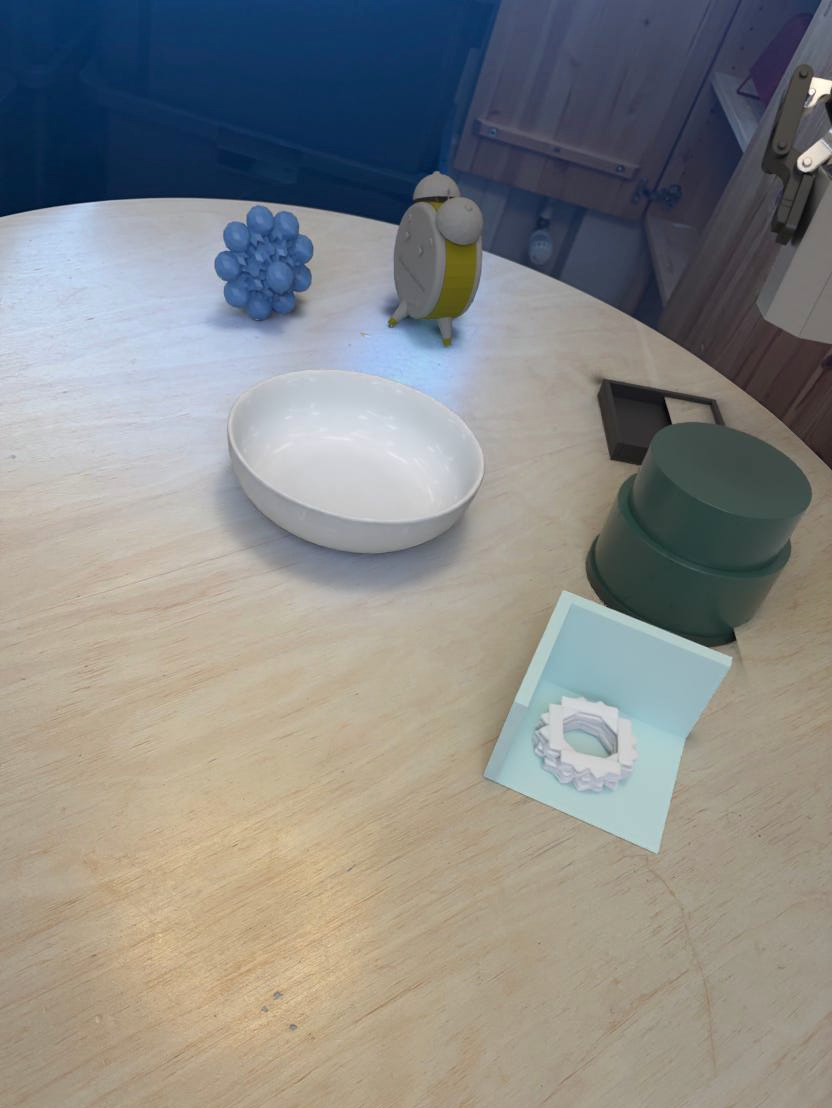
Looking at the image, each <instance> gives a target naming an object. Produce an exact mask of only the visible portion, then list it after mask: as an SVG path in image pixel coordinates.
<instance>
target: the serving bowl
mask: <svg viewBox="0 0 832 1108" xmlns="http://www.w3.org/2000/svg"><path fill="white" fill-rule="evenodd" d="M226 434H227V437H226V438H227V447H228V453H229V458H230V459H229V460H230V463H231V466H232V469H233V472H234V475H235V477H236V479H237V481H238V483H239V485H240V487H241V489H242V490H243V491H244V493H245V495H246V496H247V497H248V499H249V500H250V501H251V502H252V504H253V505H254V506H255V507H256V508H257V509H258V510H259V511H260V512H261V513H262V514H263V515H264V516H265V517H267V518H268V519H269V520H270V521H272V522H273V523H274V524H275V525H277V526H278V527H280V528H282V529H283V530H284V531H286V532H288V533H290V534H292V535H294V536H296V537H297V538H299V539H302V540H305V541H307V542H309V543H312V544H315V545H317V546H321V547H323V548H327V549H332V550H336V551H342V552H347V553H355V554H356V553H357V554H385V553H392V552H398V551H399V552H400V551H403V550H406V549H407V550H408V549H410V548H414V547H417V546H419V545H422V544H425V543H427V542H429V541H431V540H433V539H435V538H436V537H439V536H440V535H441V534H443V533H444V532H446V531H447V530H449V529H450V528H451V527H452V526H453V525H454V524H455V523H456V522H457V521H459V520H460V518H461V517H462V516H463V515H464V514H465V512H466V511H467V510H468V508H469V507H470V505H471V504H472V502H473V500H474V499H475V496H476V495H477V493H478V491H479V490H480V487H481V485H482V482H483V480H484V478H485V472H486V461H485V455H484V450H483V448H482V445H481V444H480V441H479V440H478V438H477V436H476V435H475V433H474V432H473V430H472V429H471V427H470V426H469V425H468V424H467V423H466V422H465V421H464V419H462V418H461V417H460V416H459V415H457V414H456V413H455V412H454V411H453V410H452V409H451V408H450V407H448V406H447V405H445V404H444V403H443V402H441V401H439V400H437V399H436V398H434V397H432V396H431V395H429V394H427V393H425V392H423V391H420V390H419V389H417V388H415V387H412V386H409V385H407V384H405V383H401V382H399V381H397V380H393V379H390V378H386V377H383V376H381V375H380V376H379V375H375V374H371V373H366V372H360V371H353V370H345V369H331V368H330V369H328V368H327V369H326V368H319V369H318V368H317V369H316V368H315V369H303V370H296V371H289V372H285V373H281V374H277V375H275V376H271V377H269V378H266V379H263V380H261V381H260V382H258V383H256V384H254V385H252V386H251V387H250V388H248V389H246V390H245V391H244V392H242V394H241V395H240V396H238V398H237V399H236V400H235V402H234V403H233V405H232V407H231V409H230V411H229V413H228V416H227V424H226Z"/></svg>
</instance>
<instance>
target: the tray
mask: <svg viewBox="0 0 832 1108" xmlns="http://www.w3.org/2000/svg"><path fill="white" fill-rule="evenodd" d="M666 398H669V399H674V400H679V401H684V402H690V403H696V404H701V405H705V406H709V408H710V411H711V413H712V416H713V418H714V421H715V424H717V425H722V426H726V424H725V420H724V418H723V416H722V415H723V414H722V413H721V410H720V407H719V405H718V402H717V399H714V398H709V397H705V396H704V397H703V396H700V395H694V394H688V393H683V392H682V393H681V392H677V391H672V390H666V389H661V388H656V387H651V386H646V385H640V384H637V383H636V384H635V383H630V382H625V381H620V380H614V379H609V378H603V380H602V382H601V385H600V387H599V390H598V392H597V399H598V405H599V409H600V415H601V419H602V423H603V429H604V434H605V438H606V444H607V448H608V453H609V459H610V460H613V461H618V462H624V463H629V464H634V465H639V466H641V464H642V462H643V460H644V458H645V455H646V453H647V451H648V449H649V446H650V444H651V442H652V439H653V437H654V436H655V435H656V433H657V432H659V431H660V430H661V429H663V428H665V427H666V426H669V425H672V424H673V421H672V418H671V414H670V411H669V408H668V404H667V401H666Z"/></svg>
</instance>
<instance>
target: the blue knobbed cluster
mask: <svg viewBox="0 0 832 1108" xmlns="http://www.w3.org/2000/svg"><path fill="white" fill-rule="evenodd" d="M222 231H223V232H222V240H223V241H224V245H225V247H226V249H228V250H223V251H220V252H219V253H218V254H217V256H216V257H215V258H214V262H213V267H214V270H215V273H216V276H217V277H218V278H219V279H220V280H222V281H224V282H226V283H225V284H224V286H223V298H224V299H225V302H226V303H227V305H229V307H231V308H235V309H241V308H245V310H246V313H247V315H248V316H249V317H250V318H251V317H252V318H251V319H253V320H255V319H258V320H257V321H264V320H266V318H267V319H268V318H269V317H270V315H271V314H272V312H273V311H274V312H275V313H277V314H281V315H286V314H289V313H291V312H292V311H293V310H294V309H295V307H296V299H297V298H296V295H295V293H303V292H307V291H308V290H309V289H310V287H311V285H312V278H313V274H312V272H311V269H310V268H309V267H308V266H307V265H306V264H308V263H310V261H312V259H313V257H314V244H313V242H312V240H311V238H309V237H308V236H307V235H305V234H301V233H300V223H299V220H298V217H297V216H296V215H295V214H294V213H292V211H286V210H281V211H278V212H276V214H275V215H274V213H273V212H272V211H271V210H270V209H269V208H268V207H267V206H264V205H259V204H257V205H254V206H252V207H251V208H250V209H249V211H248V212H247V214H246V219H245V223H244V222H241V221H236V220H234V221H231V222H228V223H227V225H226V226H225V227H224V229H223V230H222ZM272 310H273V311H272ZM263 319H264V320H263Z"/></svg>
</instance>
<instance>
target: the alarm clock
mask: <svg viewBox="0 0 832 1108" xmlns="http://www.w3.org/2000/svg"><path fill="white" fill-rule="evenodd" d="M412 201H413V202H414V203H413V204H412V205H410V206H409V207H408V209H407V210H406V211H405V212H404V214H403V216H402V218H401V220H400V223H399V225H398V228H397V232H396V236H395V240H394V241H395V242H394V246H393V280H394V287H395V291H396V295H397V298H398V301H399V303H400V304H399V306H398V307H397V308H396V309H395V311H394V312H393V314H392V315H391V316H390V318H389V319H388V321H387V324H388V325H389V326H390V325H393V326H395V325H396V324H398V323H399V322H401V321H402V320H404V319H405V318H407V317H408V316H409V317H410V318H412V319H416V320H421V321H423V320H426V321H427V320H436V321H437V324H438V328H439V331H440V336H441V339H442V343H443V346H444V347H450V346H451V344H452V334H453V333H452V332H453V331H452V330H453V320H454V319H458V318H460V317H462V316H463V315H464V314H465V313H467V311H468V310H469V308H470V307H471V305H472V304H473V302H474V300H475V297H476V296H477V292H478V290H479V286H480V281H481V276H482V269H483V239H482V235H481V234H482V232H483V228H484V227H483V226H484V220H483V213H482V210H481V209H480V207H479V205H477V203H475V202H474V200H472V199H470V198H467V197H463V196H461V192H460V188H459V187H458V185H457V183H456V181H454V179H452V178H451V177H450V176H448V175H446V174H443V173H441V172H440V171H439V170H435V171H433V173H432V174H429V175H426V176H425V177H423V178H422V179H421V180H419V183H417V185H416V187H415V189H414V192H413V194H412Z"/></svg>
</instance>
